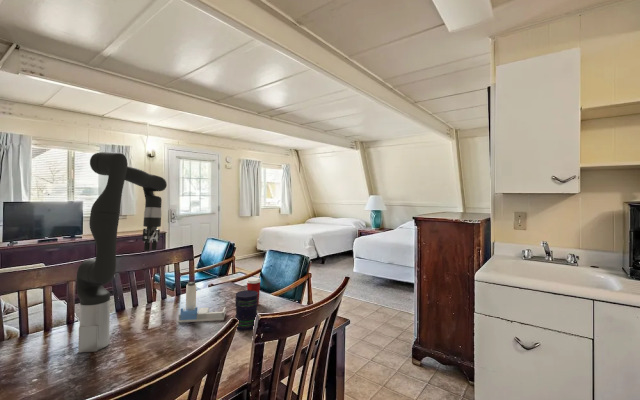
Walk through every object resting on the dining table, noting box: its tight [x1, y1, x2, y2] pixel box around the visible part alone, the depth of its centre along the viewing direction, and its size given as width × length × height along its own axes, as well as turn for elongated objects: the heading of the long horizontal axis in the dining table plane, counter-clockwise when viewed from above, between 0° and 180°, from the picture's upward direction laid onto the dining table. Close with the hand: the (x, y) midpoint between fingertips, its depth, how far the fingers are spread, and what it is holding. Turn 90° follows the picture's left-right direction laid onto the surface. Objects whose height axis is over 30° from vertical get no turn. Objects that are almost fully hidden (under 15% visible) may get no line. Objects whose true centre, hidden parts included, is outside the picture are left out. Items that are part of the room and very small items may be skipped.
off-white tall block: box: [185, 281, 197, 311], centre depth 142 cm, size 5×5×16 cm
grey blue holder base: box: [178, 306, 227, 323], centre depth 143 cm, size 8×20×6 cm, turn 101°
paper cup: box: [245, 277, 262, 305], centre depth 162 cm, size 8×8×14 cm
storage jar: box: [235, 290, 259, 332], centre depth 134 cm, size 10×10×15 cm
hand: (150, 250), depth 145 cm, fingers open, 8 cm apart
